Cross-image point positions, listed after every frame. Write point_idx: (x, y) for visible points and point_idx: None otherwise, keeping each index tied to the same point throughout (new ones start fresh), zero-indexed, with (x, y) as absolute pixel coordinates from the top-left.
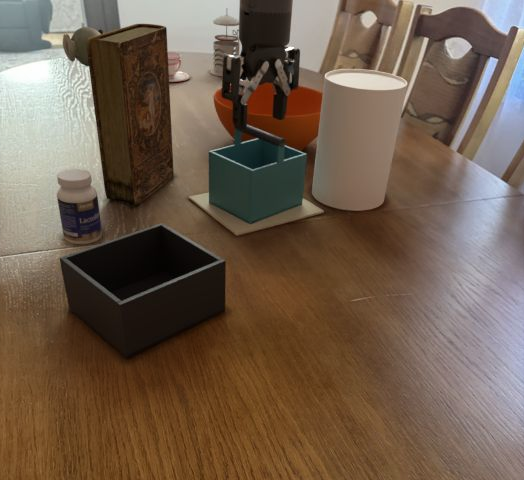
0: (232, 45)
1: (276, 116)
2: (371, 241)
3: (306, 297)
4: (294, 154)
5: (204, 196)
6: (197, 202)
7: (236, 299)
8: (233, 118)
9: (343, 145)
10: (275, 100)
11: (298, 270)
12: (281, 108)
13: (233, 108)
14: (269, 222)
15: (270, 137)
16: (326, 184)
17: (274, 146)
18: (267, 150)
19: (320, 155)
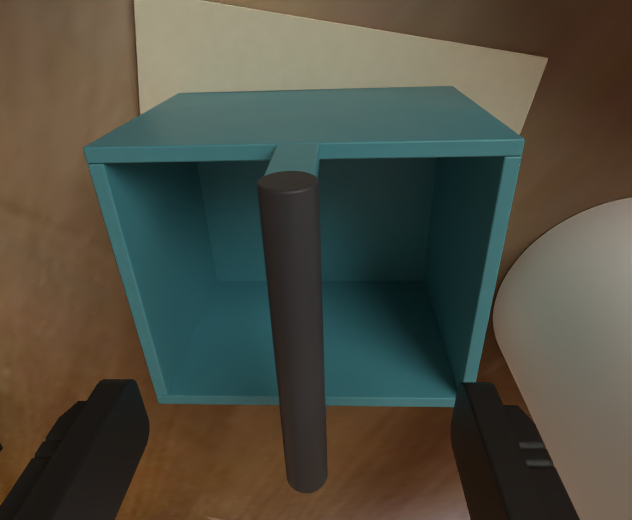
0: None
1: (458, 414)
2: (400, 455)
3: (149, 485)
4: (461, 349)
5: (192, 31)
6: (140, 63)
7: (35, 437)
8: (51, 441)
9: (577, 509)
10: (493, 498)
11: (190, 441)
12: (467, 501)
13: (8, 504)
14: None
15: (285, 443)
16: (515, 345)
17: (481, 236)
18: (479, 176)
19: (577, 366)
